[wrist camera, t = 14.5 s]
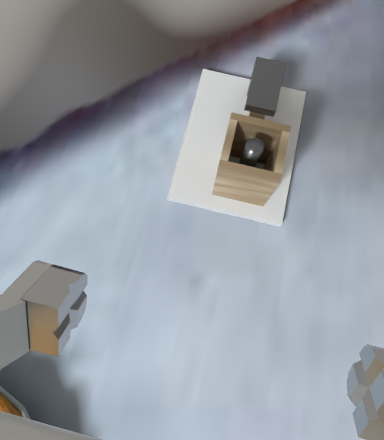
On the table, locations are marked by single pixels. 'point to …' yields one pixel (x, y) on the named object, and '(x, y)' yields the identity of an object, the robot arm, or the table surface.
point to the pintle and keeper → (262, 101)
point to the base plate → (214, 140)
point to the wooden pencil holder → (271, 156)
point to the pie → (11, 405)
